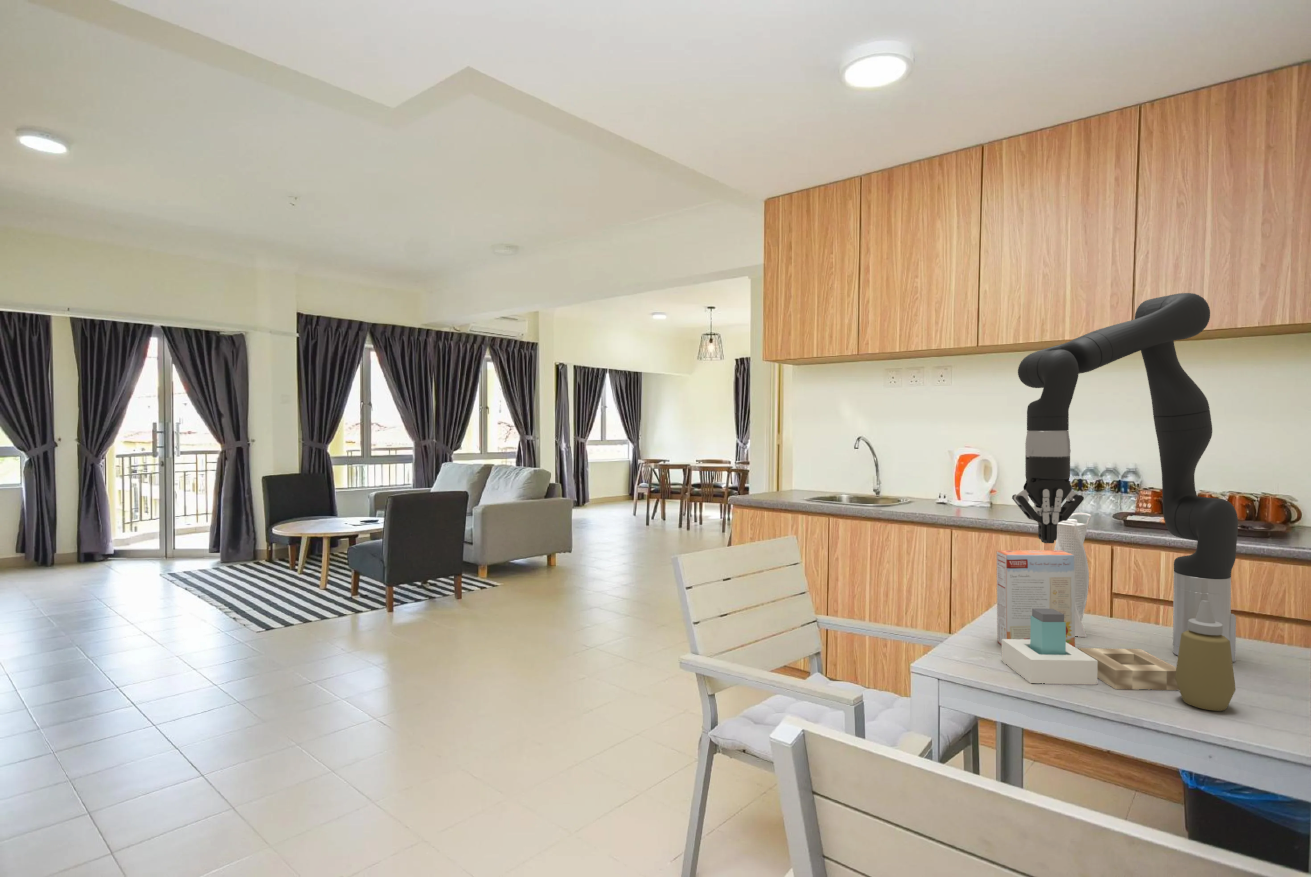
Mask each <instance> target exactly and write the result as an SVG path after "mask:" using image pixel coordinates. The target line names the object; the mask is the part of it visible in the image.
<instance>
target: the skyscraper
mask: <svg viewBox="0 0 1311 877" xmlns="http://www.w3.org/2000/svg"><path fill="white" fill-rule="evenodd" d="M1079 515H1080V516H1081V515H1082V516H1087V517H1088V518H1087V520H1086V523H1082V522H1081V523H1080V522H1078V519H1074V518H1071V517H1073V516H1079ZM1091 518H1092V514H1090V513H1087V512H1073V513H1072V515H1071V516H1070V517H1069V518H1068V520H1066V521H1061V522H1059V523H1058V524H1057V539H1056V540H1054V542H1055V544H1054V545H1055V546H1054V548H1053V550H1062V551H1064V552H1067V553H1070V554H1072V555H1074V590H1075V636H1078V637H1077V638H1087V637H1088V635H1087V632H1086V631H1085V630H1086V629H1085V628H1084V627H1085V626H1084V624H1083V622H1082V621H1083V618H1084V613H1085V611H1086V610H1085V609H1086V605H1087V600H1088V595H1089V583H1090V572H1089V561H1088V558H1087V557H1088V556H1087V552H1086V550H1085V545H1084V544H1085V539H1086V534H1087V531H1088V527H1089V523H1090V521H1091Z"/></svg>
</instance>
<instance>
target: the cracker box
mask: <svg viewBox="0 0 1311 877" xmlns="http://www.w3.org/2000/svg"><path fill="white" fill-rule="evenodd" d="M1032 609H1054V610H1056V611H1058V612H1060V613H1062V614H1064V622H1066V642H1067V643H1068V644H1070V645H1072V646H1073V647H1075V648H1076V640H1075V639H1076V637H1075V590H1074V555H1072V554H1070V553H1067V552H1064V551H1062V550H1054V549H1053V550H1052V549H1051V550H1050V549H1049V550H1047V549H1046V550H1045V549H1044V550H1042V549H1041V550H1039V549H1036V550H1034V549H1031V550H1030V549H1021V550H1019V549H1018V550H1017V549H1012V550H1011V549H1009V550H1008V549H1007V550H1005V549H1004V550H1002V549H997V550H996V623H997V625H996V632H997V635H996V636H997V640H996V641H997V643H998V644H999V645H1001V646H1002V639H1030V629H1031V616H1032Z"/></svg>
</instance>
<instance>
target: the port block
mask: <svg viewBox="0 0 1311 877" xmlns="http://www.w3.org/2000/svg"><path fill="white" fill-rule="evenodd" d="M1002 661H1003V662H1002ZM1001 662H1002V663H1004V664H1005V665H1006V664H1007V665H1006V666H1008V667H1009V668H1010V669H1012V671H1014V672H1015V671H1016V672H1015V673H1016V674H1018V675H1019V676H1020V675H1021V677H1022V678H1023V679H1024V678H1025V681H1026V682H1028V683H1029V684H1031V683H1042V684H1041V685H1090V686H1091V685H1098V678H1097V665H1098V661H1097V660H1095V659H1094V658H1092V657H1090V656H1089V655H1087V654H1085V653H1084V652H1082V651H1080V650H1079V649H1078V648H1077V647H1076V646H1075V647H1073V646H1072V645H1070V644H1068V643H1067V642H1066V655H1041V654H1038V653H1036V652H1035V651H1033V650H1032V649H1030V639H1002V645H1001ZM1043 683H1045V684H1043Z"/></svg>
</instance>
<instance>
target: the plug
mask: <svg viewBox="0 0 1311 877" xmlns="http://www.w3.org/2000/svg"><path fill="white" fill-rule="evenodd" d="M1030 649H1032V650H1033V651H1035V652H1036V653H1038V654H1041V655H1066V622H1064V614H1062V613H1060V612H1058V611H1056V610H1054V609H1032V616H1031V629H1030Z"/></svg>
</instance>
